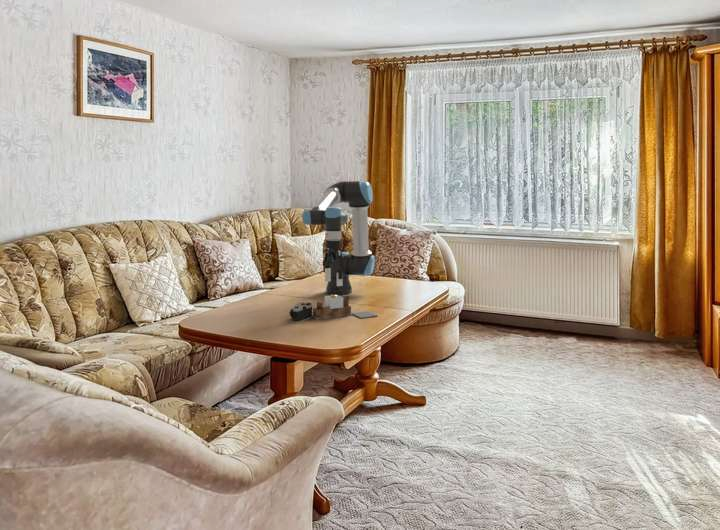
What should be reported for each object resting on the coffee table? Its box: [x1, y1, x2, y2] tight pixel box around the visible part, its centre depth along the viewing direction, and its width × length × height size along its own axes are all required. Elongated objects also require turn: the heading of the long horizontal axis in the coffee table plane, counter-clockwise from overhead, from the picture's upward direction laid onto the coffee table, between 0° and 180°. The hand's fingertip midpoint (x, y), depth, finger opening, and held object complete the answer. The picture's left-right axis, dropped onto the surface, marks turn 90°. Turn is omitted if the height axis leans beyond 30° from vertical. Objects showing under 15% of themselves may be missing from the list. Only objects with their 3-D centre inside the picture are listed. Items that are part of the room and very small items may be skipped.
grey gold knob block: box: [324, 294, 343, 309], centre depth 278 cm, size 6×7×6 cm
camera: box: [289, 302, 313, 323], centre depth 273 cm, size 13×8×9 cm, turn 150°
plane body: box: [312, 294, 353, 320], centre depth 278 cm, size 19×5×10 cm, turn 117°
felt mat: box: [351, 310, 378, 320], centre depth 280 cm, size 10×9×1 cm
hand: (333, 283), depth 277 cm, fingers open, 13 cm apart
